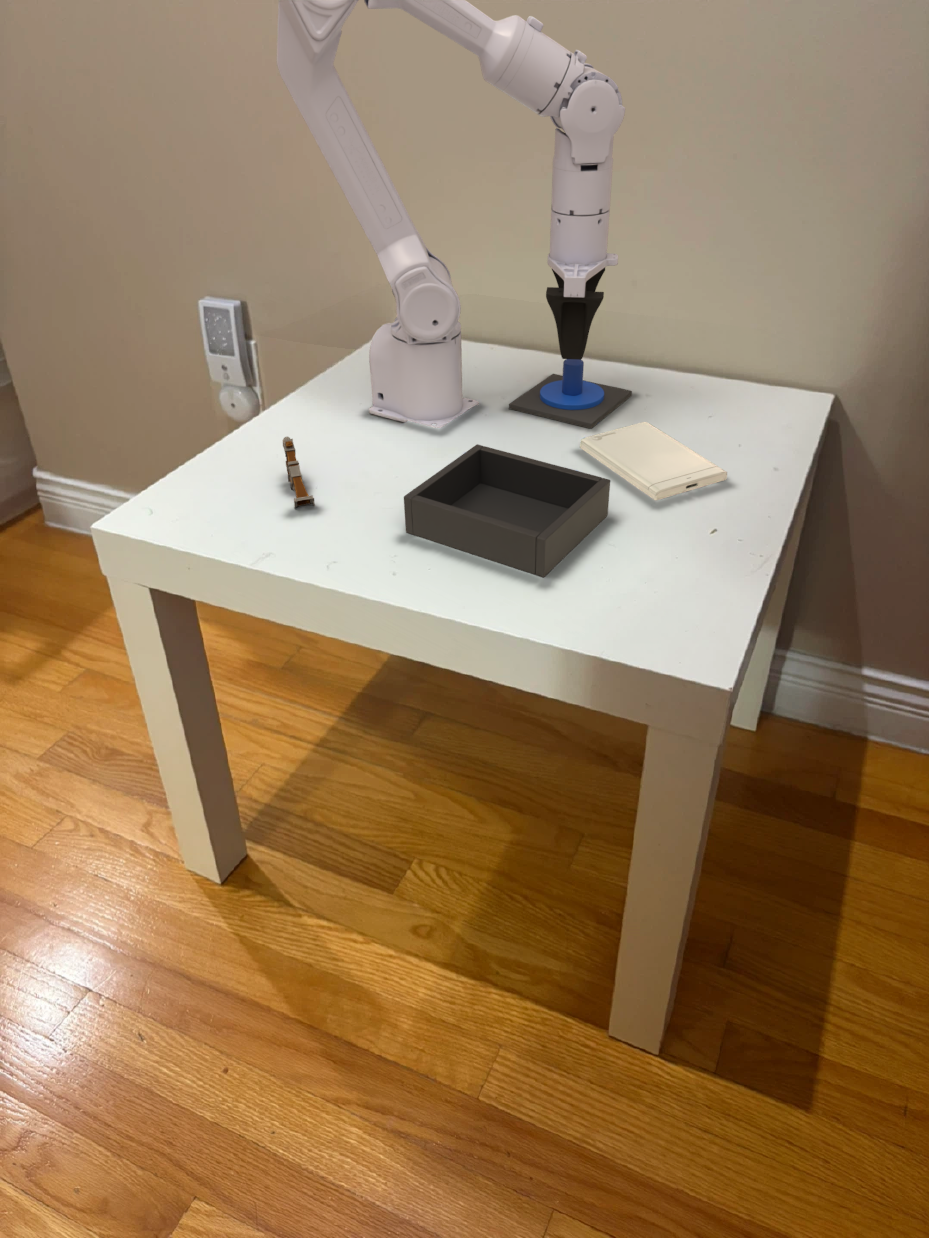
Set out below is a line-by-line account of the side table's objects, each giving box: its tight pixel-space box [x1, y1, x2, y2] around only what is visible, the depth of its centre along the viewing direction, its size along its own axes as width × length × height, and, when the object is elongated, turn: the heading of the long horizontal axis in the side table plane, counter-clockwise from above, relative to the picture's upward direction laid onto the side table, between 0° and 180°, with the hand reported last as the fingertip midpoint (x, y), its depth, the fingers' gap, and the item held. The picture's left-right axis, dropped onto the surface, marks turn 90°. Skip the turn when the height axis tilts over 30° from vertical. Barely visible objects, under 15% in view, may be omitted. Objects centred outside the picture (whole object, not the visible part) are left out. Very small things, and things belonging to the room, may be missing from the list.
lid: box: [540, 359, 604, 410], centre depth 104 cm, size 7×7×4 cm
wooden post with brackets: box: [282, 436, 316, 508], centre depth 89 cm, size 2×8×4 cm, turn 18°
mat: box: [508, 373, 633, 429], centre depth 105 cm, size 10×10×1 cm
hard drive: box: [579, 421, 728, 501], centre depth 92 cm, size 2×8×12 cm
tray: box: [403, 443, 611, 579], centre depth 83 cm, size 14×12×4 cm
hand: (573, 345), depth 102 cm, fingers open, 7 cm apart
